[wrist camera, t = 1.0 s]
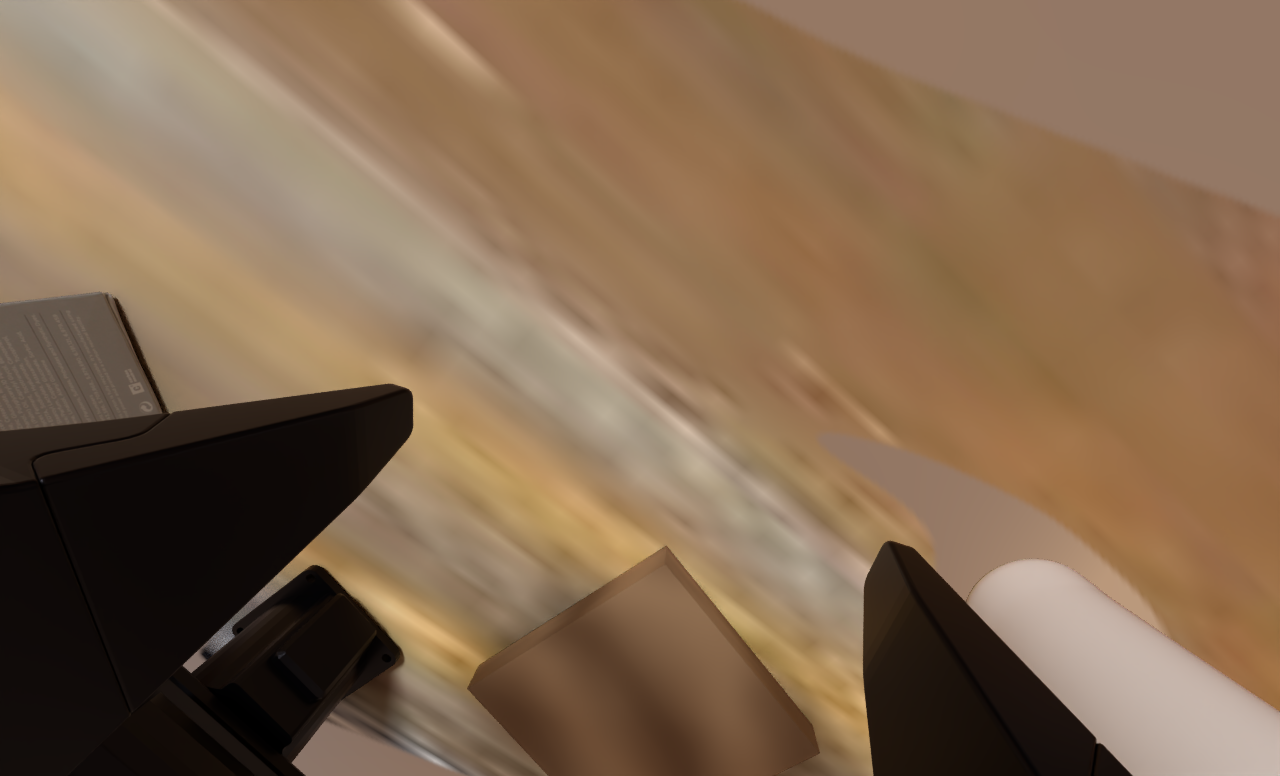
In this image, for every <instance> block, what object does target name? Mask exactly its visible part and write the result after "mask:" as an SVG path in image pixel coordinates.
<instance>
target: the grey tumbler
mask: <svg viewBox="0 0 1280 776" xmlns="http://www.w3.org/2000/svg"><path fill="white" fill-rule="evenodd" d="M966 603H967V604H968V605H969V606H970V607H971V608H972V609H973V610H974V611H975V612H976V613H977V614H978V615H979V617H980V618H981V619H982V620H983V621H984V622H985V623H986V624H987V625H988V626H989V627H990V628H991V629H992V630H993V631H994V632H995V633H996V634H997V635H998V636H999V637H1000V638H1001V639H1002V640H1003V641H1004V642H1005V643H1006V645H1007V646H1008V647H1009V648H1010V649H1011V650H1012V651H1013V652H1014V653H1015V654H1016V655H1017V656H1018V657H1019V658H1020V659H1021V660H1022V661H1023V662H1024V663H1025V664H1026V665H1027V666H1028V667H1029V668H1030V669H1031V670H1032V672H1033V673H1034V674H1035V675H1036V676H1037V677H1038V678H1039V679H1040V680H1041V681H1042V682H1043V683H1044V684H1045V685H1046V686H1047V687H1048V688H1049V689H1050V690H1051V691H1052V692H1053V693H1054V694H1055V695H1056V696H1057V697H1058V699H1059V700H1060V701H1061V702H1062V703H1063V704H1064V705H1065V706H1066V707H1067V708H1068V709H1069V710H1070V711H1071V712H1072V713H1073V714H1074V715H1075V716H1076V717H1077V718H1078V719H1079V720H1080V721H1081V722H1082V723H1083V724H1084V726H1085V727H1086V728H1087V729H1088V730H1089V731H1090V732H1091V733H1092V734H1093V735H1094V736H1095V737H1096V739H1097V743H1101V744H1103V745H1104V746H1105V747H1106V748H1107V749H1108V750H1109V751H1110V752H1111V753H1112V754H1113V755H1114V757H1115V758H1116V759H1117V760H1118V761H1119V762H1120V763H1121V764H1122V765H1123V766H1124V767H1125V768H1126V769H1127V770H1128V771H1129V772H1130V773H1131V774H1132V775H1133V776H1280V711H1278V710H1277V709H1275V708H1274V707H1272V706H1271V705H1269V704H1268V703H1266V702H1265V701H1263V700H1262V699H1260V698H1259V697H1257V696H1256V695H1254V694H1253V693H1251V692H1250V691H1248V690H1247V689H1245V688H1244V687H1242V686H1241V685H1239V684H1238V683H1236V682H1235V681H1233V680H1232V679H1230V678H1229V677H1227V676H1226V675H1224V674H1223V673H1221V672H1220V671H1218V670H1217V669H1215V668H1214V667H1212V666H1211V665H1209V664H1208V663H1206V662H1205V661H1203V660H1202V659H1200V658H1199V657H1197V656H1196V655H1195V654H1193V653H1192V652H1190V651H1189V650H1187V649H1186V648H1184V647H1183V646H1181V645H1180V644H1178V643H1177V642H1175V641H1174V640H1172V639H1171V638H1169V637H1168V636H1166V635H1165V634H1163V633H1162V632H1160V631H1159V630H1157V629H1156V628H1154V627H1153V626H1151V625H1150V624H1149V623H1147V622H1146V621H1144V620H1142V619H1141V618H1140V617H1138V616H1137V615H1135V614H1134V613H1132V612H1131V611H1129V610H1128V609H1126V608H1125V607H1124V606H1122V605H1121V604H1119V603H1118V602H1116V601H1115V600H1113V599H1112V598H1110V597H1109V596H1108V595H1107V594H1105V593H1104V592H1103V591H1101V590H1100V589H1099V588H1098V587H1096V586H1095V585H1094V584H1093V583H1091V582H1090V581H1089V580H1087V579H1086V578H1085V577H1084V576H1082V575H1081V574H1079V573H1078V572H1077V571H1075V570H1073V569H1071V568H1070V567H1068V566H1066V565H1063V564H1061V563H1058V562H1054V561H1050V560H1045V559H1022V560H1017V561H1012V562H1009V563H1006V564H1003V565H1001V566H999V567H997V568H995V569H993V570H992V571H990V572H989V573H987V574H986V575H985V576H983V577H982V578H981V579H980V580H979V581H978V582H977V583H976V585H975V586H974V587H973V589H972V590H971V592H970V594H969V595H968V598H967V600H966Z"/></svg>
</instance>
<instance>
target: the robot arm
mask: <svg viewBox="0 0 1280 776" xmlns="http://www.w3.org/2000/svg"><path fill="white" fill-rule="evenodd" d="M412 429H413V395H412V392H411V391H410V390H409V389H407V388H404V387H401V386H398V385H394V384H382V385H375V386H367V387H360V388H352V389H344V390H337V391H329V392H321V393H314V394H306V395H298V396H291V397H283V398H276V399H268V400H260V401H253V402H245V403H237V404H230V405H222V406H215V407H207V408H199V409H192V410H184V411H176V412H173V413H172V414H170V413H160V414H153V415H145V416H137V417H129V418H121V419H112V420H104V421H96V422H86V423H76V424H67V425H57V426H47V427H37V428H26V429H16V430H5V431H0V776H305V775H304V774H303V773H302V772H301V771H300V770H299V769H297V768H296V767H295V766H294V765H293V764H292V761H293V760H294V759H295V758H296V756H297V755H298V753H300V751H301V750H302V749H303V748H304V746H305V745H306V744H307V743H308V741H309V740H310V739H311V737H312V736H313V735H314V734H315V732H316V731H317V730H318V728H319V727H320V726H321V725H322V723H323V722H324V721H325V720H326V718H327V717H328V716H329V715H330V713H331V712H332V711H333V710H334V708H335V707H336V706H337V704H338V703H339V702H340V701H341V700H342V699H343V698H345V697H346V696H348V695H349V694H351V693H352V692H354V691H355V690H357V689H358V688H360V687H361V686H363V685H364V684H366V683H367V682H369V681H370V680H372V679H373V678H375V677H376V676H378V675H379V674H381V673H382V672H384V671H385V670H387V669H388V668H390V667H391V666H393V665H394V664H395V663H396V661H397V660H398V658H399V657H400V651H399V649H398V648H397V647H396V646H395V645H394V644H393V642H392V641H391V640H390V639H389V638H388V637H387V636H386V635H385V634H384V633H383V632H382V631H381V630H380V629H379V628H378V627H377V626H376V624H375V623H374V622H373V621H372V620H371V619H370V618H369V617H368V616H367V615H366V614H365V613H364V612H363V611H362V610H361V609H360V608H359V606H358V605H357V604H356V603H355V602H354V601H353V600H352V599H351V598H350V597H349V596H348V595H347V594H346V593H345V592H344V591H343V589H342V588H341V587H340V586H339V585H338V584H337V583H336V582H335V581H334V580H333V579H332V578H331V577H330V576H329V575H328V574H327V573H326V571H325V570H324V569H323V568H321V567H320V566H317V565H312V566H310V567H308V568H307V569H306V570H305V571H303V572H302V573H301V574H299V575H298V576H297V577H295V578H294V579H293V580H292V581H290V582H289V583H288V584H286V585H285V586H284V587H282V588H281V589H280V590H279V591H277V592H276V593H275V594H273V595H272V596H271V597H269V598H268V599H267V600H266V601H264V602H263V603H262V604H260V605H259V606H258V607H256V608H255V609H254V610H253V611H251V612H250V613H249V614H247V615H246V616H245V617H243V618H242V619H241V620H240V621H238V622H237V623H236V624H235V625H234V626H233V627H232V632H233V634H234V635H235V637H234V638H233V639H232V640H231V641H229V642H228V643H227V644H226V645H225V646H223V647H222V648H221V649H220V650H219V651H217V652H216V653H215V654H214V655H213V656H211V657H210V658H209V659H208V660H207V661H205V662H204V663H203V664H202V665H201V666H199V667H198V668H197V669H196V670H195V671H193V672H192V673H190V672H189V671H188V670H187V669H186V668H184V667H183V666H182V665H183V664H184V663H185V662H186V661H187V660H188V659H189V658H190V657H191V656H192V655H194V654H195V653H196V652H197V651H198V650H199V649H200V648H201V647H202V646H203V645H204V644H205V643H206V642H207V641H208V640H209V639H210V638H211V637H212V636H213V635H214V634H215V633H217V632H218V631H219V630H220V629H221V628H222V627H223V626H224V625H225V624H226V623H227V622H228V621H229V620H230V619H231V618H232V617H233V616H234V615H235V614H236V613H237V612H238V611H239V610H241V609H242V608H243V607H244V606H245V605H246V604H247V603H248V602H249V601H250V600H251V599H252V598H253V597H254V596H255V595H256V594H257V593H258V592H259V591H260V590H261V589H262V588H263V587H265V586H266V585H267V584H268V583H269V582H270V581H271V580H272V579H273V578H274V577H275V576H276V575H277V574H278V573H279V572H280V571H281V570H282V569H283V568H284V567H285V566H286V565H287V564H288V563H290V562H291V561H292V560H293V559H294V558H295V557H296V556H297V555H298V554H299V553H300V552H301V551H302V550H303V549H304V548H305V547H306V546H307V545H308V544H309V543H310V542H311V541H312V540H314V539H315V538H316V537H317V536H318V535H319V534H320V533H321V532H322V531H323V530H324V529H325V528H326V527H327V526H328V525H329V524H330V523H331V522H332V521H333V520H334V519H335V518H336V517H338V516H339V515H340V514H341V513H342V512H343V511H344V510H345V509H346V508H347V507H348V506H349V505H350V504H351V503H352V502H353V501H354V500H355V499H356V498H357V497H358V496H359V495H360V494H361V493H362V492H363V491H364V490H365V488H366V487H367V486H368V485H369V484H370V483H371V482H372V480H373V479H374V478H375V477H376V476H377V475H378V473H379V472H380V471H381V470H382V469H383V468H384V466H385V465H386V464H387V463H388V462H389V461H390V459H391V458H392V457H393V456H394V455H395V454H396V452H397V451H398V450H399V449H400V448H401V446H402V445H403V444H404V443H405V442H406V441H407V439H408V438H409V436H410V435H411V432H412ZM313 576H315V577H313ZM387 654H388V655H390V656H388V655H387ZM863 678H864V691H865V700H866V709H867V719H868V728H869V737H870V747H871V756H872V765H873V774H874V776H1133V775H1132V774H1131V773H1130V772H1129V771H1128V770H1127V769H1126V768H1125V767H1124V766H1123V765H1122V764H1121V763H1120V762H1119V761H1118V760H1117V759H1116V758H1115V757H1114V755H1113V754H1112V753H1111V752H1110V751H1109V750H1108V749H1107V748H1106V747H1105V746H1104V745H1103V744H1101V743H1097V739H1096V737H1095V736H1094V735H1093V734H1092V733H1091V732H1090V731H1089V730H1088V729H1087V728H1086V727H1085V726H1084V724H1083V723H1082V722H1081V721H1080V720H1079V719H1078V718H1077V717H1076V716H1075V715H1074V714H1073V713H1072V712H1071V711H1070V710H1069V709H1068V708H1067V707H1066V706H1065V705H1064V704H1063V703H1062V702H1061V701H1060V700H1059V699H1058V697H1057V696H1056V695H1055V694H1054V693H1053V692H1052V691H1051V690H1050V689H1049V688H1048V687H1047V686H1046V685H1045V684H1044V683H1043V682H1042V681H1041V680H1040V679H1039V678H1038V677H1037V676H1036V675H1035V674H1034V673H1033V672H1032V670H1031V669H1030V668H1029V667H1028V666H1027V665H1026V664H1025V663H1024V662H1023V661H1022V660H1021V659H1020V658H1019V657H1018V656H1017V655H1016V654H1015V653H1014V652H1013V651H1012V650H1011V649H1010V648H1009V647H1008V646H1007V645H1006V643H1005V642H1004V641H1003V640H1002V639H1001V638H1000V637H999V636H998V635H997V634H996V633H995V632H994V631H993V630H992V629H991V628H990V627H989V626H988V625H987V624H986V623H985V622H984V621H983V620H982V619H981V618H980V617H979V615H978V614H977V613H976V612H975V611H974V610H973V609H972V608H971V607H970V606H969V605H968V604H967V603H966V602H965V601H964V600H963V599H962V598H961V597H960V596H959V595H958V594H957V593H956V592H955V591H954V590H953V588H951V586H950V585H949V584H948V583H947V582H946V581H945V580H944V579H943V578H942V577H941V576H940V575H939V574H938V573H937V572H936V571H935V570H934V569H933V568H932V567H931V566H930V565H929V564H928V563H927V561H926V560H925V559H924V558H923V557H922V556H921V555H920V554H919V553H918V552H917V551H916V550H915V549H914V548H912V547H910V546H906V545H903V544H900V543H897V542H893V541H887V542H885V543H884V544H883V546H882V547H881V549H880V551H879V553H878V555H877V557H876V559H875V561H874V563H873V565H872V567H871V569H870V571H869V573H868V575H867V577H866V580H865V585H864V622H863Z"/></svg>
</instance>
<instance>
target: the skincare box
mask: <svg viewBox="0 0 1280 776" xmlns="http://www.w3.org/2000/svg"><path fill="white" fill-rule="evenodd" d="M160 413H162V410H161V408H160V405H159V403H158V401H157V398H156V396H155V394H154V392H153V390H152V387H151V386H150V384H149V382H148V380H147V377H146V375H145V373H144V371H143V369H142V367H141V365H140V363H139V361H138V359H137V356H136V354H135V352H134V349H133V347H132V344H131V342H130V339H129V337H128V335H127V332H126V330H125V328H124V325H123V323H122V321H121V318H120V315H119V313H118V310H117V307H116V304H115V301H114V299H113V296H112V295H111V294H109V293H102V292H94V293H86V294H78V295H69V296H61V297H52V298H44V299H35V300H26V301H17V302H8V303H0V431H5V430H16V429H26V428H37V427H47V426H57V425H67V424H76V423H86V422H96V421H104V420H112V419H121V418H129V417H137V416H145V415H153V414H160Z"/></svg>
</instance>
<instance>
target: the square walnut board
mask: <svg viewBox="0 0 1280 776" xmlns="http://www.w3.org/2000/svg"><path fill="white" fill-rule="evenodd" d="M467 689H468V690H469V691H470V692H471V693H472V694H473V695H474V696H475V698H476V699H477V700H478V701H479V702H480V703H481V704H482V705H483V706H484V707H485V708H486V709H487V710H488V711H489V713H490V714H491V715H492V716H493V717H494V718H495V719H496V720H497V721H498V722H499V723H500V724H501V725H502V727H503V728H504V729H505V730H506V731H507V732H508V733H509V734H510V735H511V736H512V737H513V738H514V739H515V740H516V742H517V743H518V744H519V745H520V746H521V747H522V748H523V749H524V750H525V751H526V752H527V753H528V754H529V755H530V757H531V758H532V759H533V760H534V761H535V762H536V763H537V764H538V765H539V766H540V767H541V768H542V769H543V771H544V772H545V773H546V774H547V775H548V776H775V775H777V774H779V773H781V772H783V771H785V770H787V769H789V768H791V767H793V766H795V765H797V764H799V763H801V762H803V761H805V760H807V759H809V758H811V757H813V756H815V755H817V754H819V753H820V752H819V748H818V744H817V741H816V737H815V733H814V730H813V726H812V724H811V723H810V722H809V721H808V719H807V718H806V717H805V716H804V714H803V713H802V712H801V711H800V709H799V708H798V707H797V706H796V705H795V703H794V702H793V701H792V700H791V698H790V697H789V696H788V695H787V693H786V692H785V691H784V690H783V689H782V687H781V686H780V685H779V684H778V682H777V681H776V680H775V679H774V677H773V676H772V675H771V674H770V673H769V671H768V670H767V669H766V668H765V666H764V665H763V664H762V663H761V661H760V660H759V659H758V658H757V657H756V655H755V654H754V653H753V652H752V650H751V649H750V648H749V647H748V645H747V644H746V643H745V642H744V641H743V639H742V638H741V637H740V636H739V634H738V633H737V632H736V631H735V629H734V628H733V627H732V626H731V625H730V623H729V622H728V621H727V620H726V618H725V617H724V616H723V615H722V613H721V612H720V611H719V610H718V609H717V607H716V606H715V605H714V604H713V602H712V601H711V600H710V599H709V597H708V596H707V595H706V594H705V593H704V591H703V590H702V589H701V588H700V586H699V585H698V584H697V583H696V581H695V580H694V579H693V578H692V577H691V575H690V574H689V573H688V572H687V570H686V569H685V568H684V567H683V565H682V564H681V563H680V562H679V560H678V559H677V558H676V557H675V556H674V554H673V553H672V552H671V551H670V549H669V548H668V547H667V546H665V547H664V548H662V549H661V550H659V551H657V552H656V553H654V554H653V555H651V556H650V557H648V558H647V559H645V560H643V561H642V562H640V563H639V564H637V565H636V566H634V567H632V568H631V569H629V570H628V571H626V572H625V573H623V574H621V575H620V576H618V577H617V578H615V579H614V580H612V581H610V582H609V583H607V584H606V585H604V586H603V587H601V588H599V589H598V590H596V591H595V592H593V593H592V594H590V595H588V596H587V597H585V598H584V599H582V600H581V601H579V602H577V603H576V604H574V605H573V606H571V607H570V608H568V609H567V610H565V611H563V612H562V613H560V614H559V615H557V616H556V617H554V618H552V619H551V620H549V621H548V622H546V623H545V624H543V625H541V626H540V627H538V628H537V629H535V630H534V631H532V632H530V633H529V634H527V635H526V636H524V637H523V638H521V639H519V640H518V641H516V642H515V643H513V644H512V645H510V646H508V647H507V648H505V649H504V650H502V651H501V652H499V653H497V654H496V655H494V656H493V657H491V658H490V659H488V660H487V661H485V662H483V663H482V664H480V665H479V667H478V669H477V670H476V672H475V674H474V676H473V678H472V680H471V682H470V684H469V686H468V688H467Z"/></svg>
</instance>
